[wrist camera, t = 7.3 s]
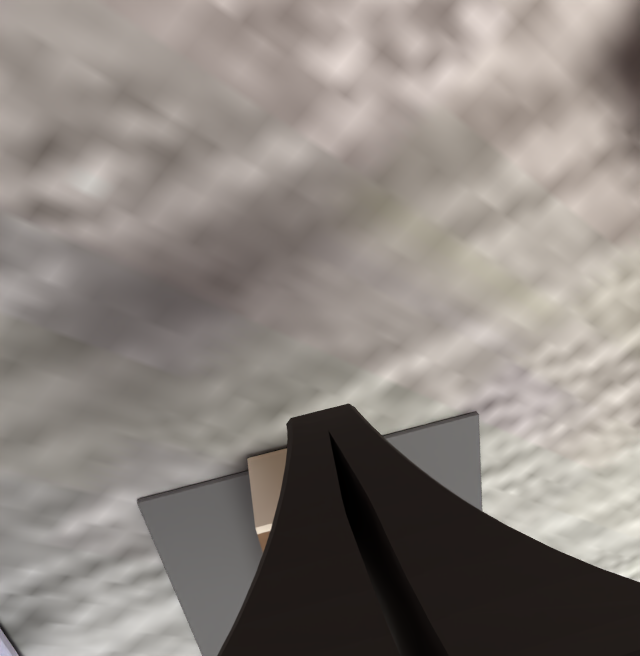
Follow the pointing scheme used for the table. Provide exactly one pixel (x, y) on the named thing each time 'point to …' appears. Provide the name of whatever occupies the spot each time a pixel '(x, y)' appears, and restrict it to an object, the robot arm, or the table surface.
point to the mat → (240, 533)
